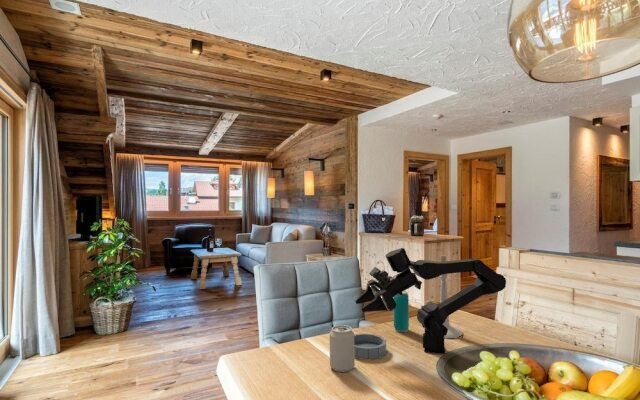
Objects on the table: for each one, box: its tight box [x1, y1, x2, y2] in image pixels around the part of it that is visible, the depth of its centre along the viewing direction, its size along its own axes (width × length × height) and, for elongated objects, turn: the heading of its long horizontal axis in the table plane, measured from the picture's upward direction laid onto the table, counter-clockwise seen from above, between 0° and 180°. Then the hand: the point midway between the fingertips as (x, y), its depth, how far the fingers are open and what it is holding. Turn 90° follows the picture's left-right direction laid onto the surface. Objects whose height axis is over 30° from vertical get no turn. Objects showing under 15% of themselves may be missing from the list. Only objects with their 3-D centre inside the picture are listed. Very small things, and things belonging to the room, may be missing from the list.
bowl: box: [354, 333, 387, 361], centre depth 118 cm, size 13×13×4 cm
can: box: [329, 324, 356, 373], centre depth 106 cm, size 8×8×12 cm
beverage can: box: [393, 290, 410, 333], centre depth 138 cm, size 6×6×15 cm
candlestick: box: [439, 254, 463, 339], centre depth 135 cm, size 13×13×30 cm
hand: (358, 306), depth 116 cm, fingers open, 9 cm apart
